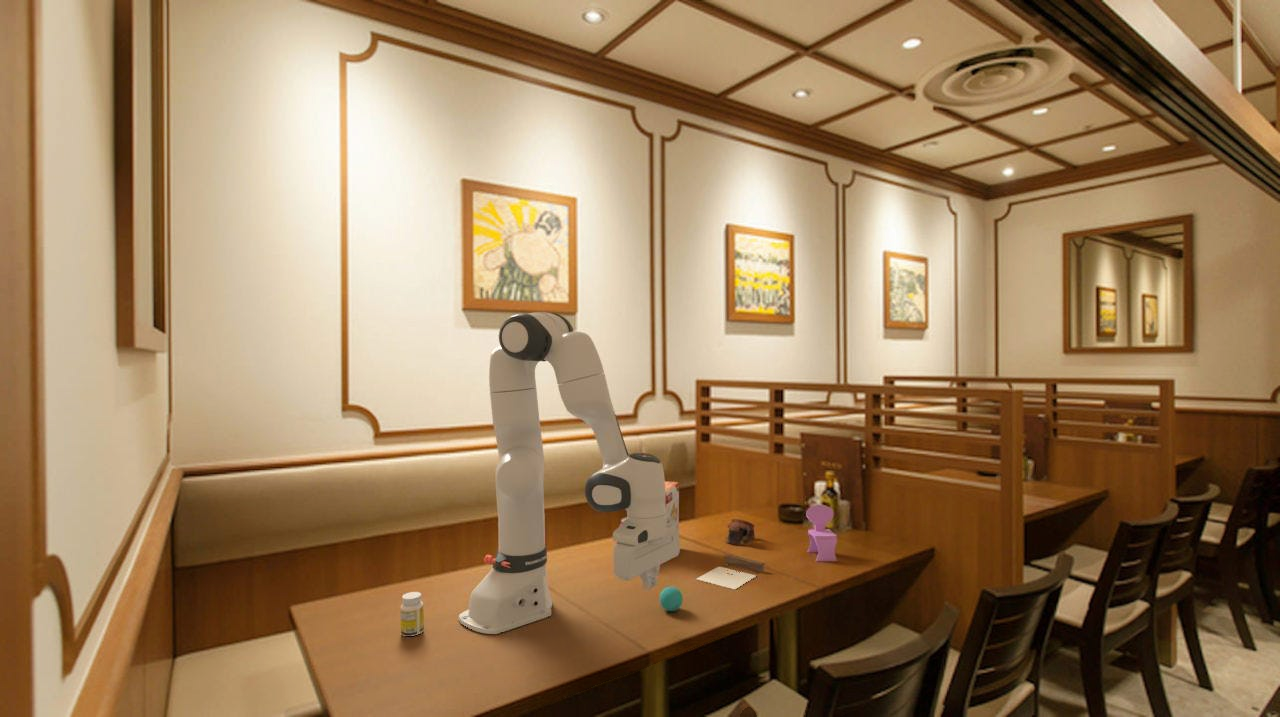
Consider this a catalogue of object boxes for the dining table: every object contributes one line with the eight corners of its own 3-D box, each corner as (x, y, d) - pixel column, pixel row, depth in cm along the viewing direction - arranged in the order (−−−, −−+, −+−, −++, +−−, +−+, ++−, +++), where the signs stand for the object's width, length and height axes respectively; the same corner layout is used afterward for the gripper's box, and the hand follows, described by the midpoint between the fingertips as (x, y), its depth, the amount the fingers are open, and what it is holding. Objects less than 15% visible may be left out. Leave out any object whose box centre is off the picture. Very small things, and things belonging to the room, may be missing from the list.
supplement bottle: (416, 626, 141) (415, 589, 141) (428, 632, 138) (427, 594, 138) (396, 633, 137) (396, 595, 137) (408, 640, 134) (407, 601, 134)
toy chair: (812, 562, 181) (812, 510, 181) (803, 552, 190) (803, 503, 190) (841, 561, 181) (840, 510, 181) (830, 551, 190) (830, 502, 190)
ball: (674, 617, 145) (673, 593, 144) (655, 611, 148) (654, 588, 148) (687, 609, 149) (687, 586, 149) (668, 603, 152) (668, 581, 152)
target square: (735, 590, 160) (735, 589, 160) (695, 579, 168) (695, 579, 168) (756, 576, 170) (756, 575, 170) (718, 567, 177) (718, 566, 177)
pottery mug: (718, 542, 202) (724, 517, 205) (741, 552, 205) (747, 527, 208) (738, 542, 192) (745, 516, 195) (763, 553, 194) (769, 527, 198)
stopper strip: (761, 573, 172) (761, 564, 172) (724, 564, 180) (724, 555, 180) (764, 571, 173) (764, 562, 173) (726, 562, 181) (726, 554, 181)
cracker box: (667, 562, 181) (667, 491, 181) (647, 560, 183) (647, 489, 183) (680, 548, 195) (679, 481, 194) (661, 546, 197) (661, 480, 196)
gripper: (663, 513, 150) (665, 569, 151) (607, 535, 134) (610, 599, 135) (685, 516, 146) (687, 574, 147) (630, 540, 130) (633, 605, 131)
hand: (650, 586), depth 140 cm, fingers closed
